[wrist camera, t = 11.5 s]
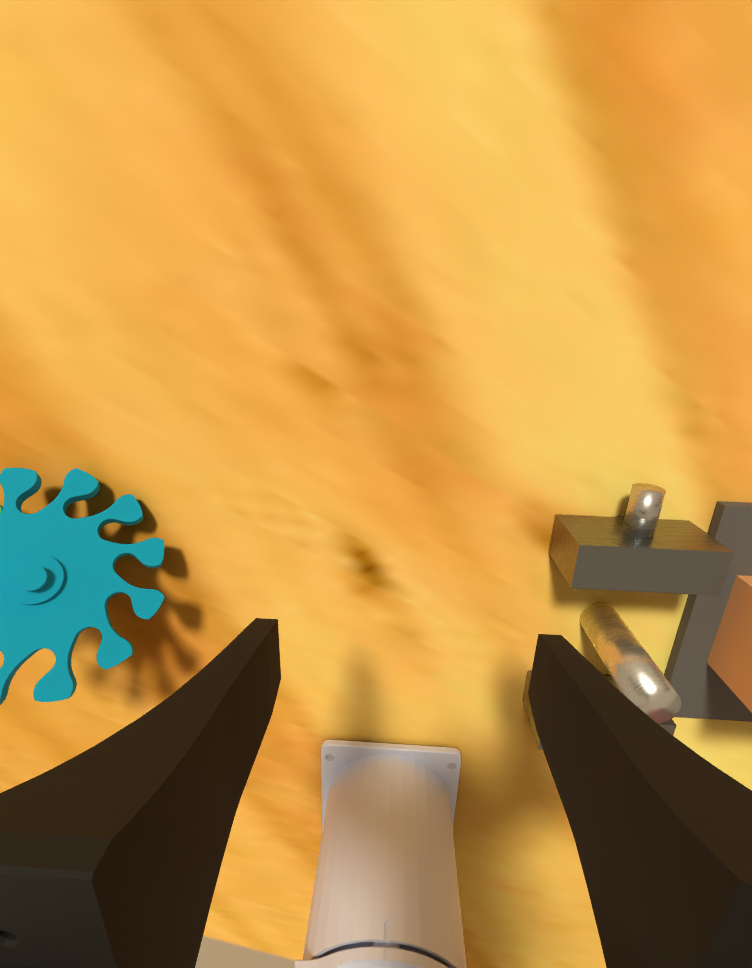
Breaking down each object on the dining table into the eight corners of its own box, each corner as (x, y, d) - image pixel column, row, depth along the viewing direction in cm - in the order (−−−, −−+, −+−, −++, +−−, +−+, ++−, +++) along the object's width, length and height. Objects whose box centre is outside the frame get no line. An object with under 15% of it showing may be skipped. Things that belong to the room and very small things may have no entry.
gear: (216, 575, 21) (-1, 778, 16) (206, 586, 26) (39, 743, 21) (39, 399, 20) (-246, 558, 15) (65, 447, 25) (-143, 577, 21)
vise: (635, 707, 24) (697, 810, 19) (522, 699, 25) (554, 800, 20) (701, 479, 20) (804, 535, 15) (562, 473, 20) (618, 526, 15)
